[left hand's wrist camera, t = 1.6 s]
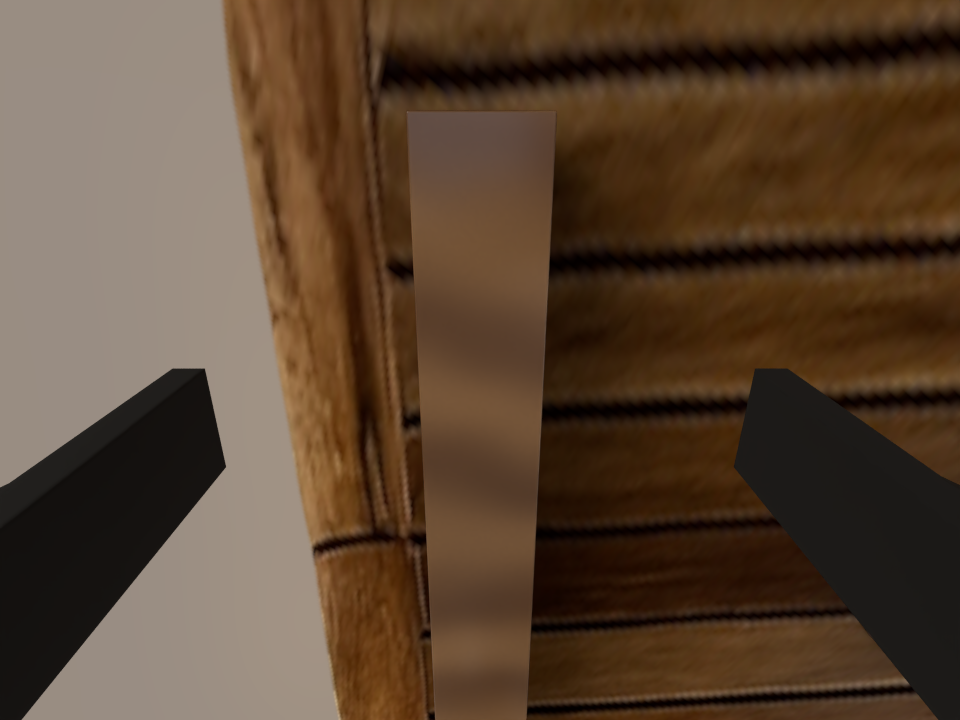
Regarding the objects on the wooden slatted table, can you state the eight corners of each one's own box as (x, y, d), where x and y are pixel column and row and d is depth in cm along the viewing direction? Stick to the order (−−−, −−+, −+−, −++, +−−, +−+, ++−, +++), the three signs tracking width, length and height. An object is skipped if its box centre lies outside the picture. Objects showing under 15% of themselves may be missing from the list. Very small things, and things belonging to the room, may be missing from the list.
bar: (427, 123, 24) (405, 110, 17) (534, 123, 24) (557, 110, 17) (454, 911, 50) (450, 1037, 43) (506, 911, 50) (510, 1037, 43)
